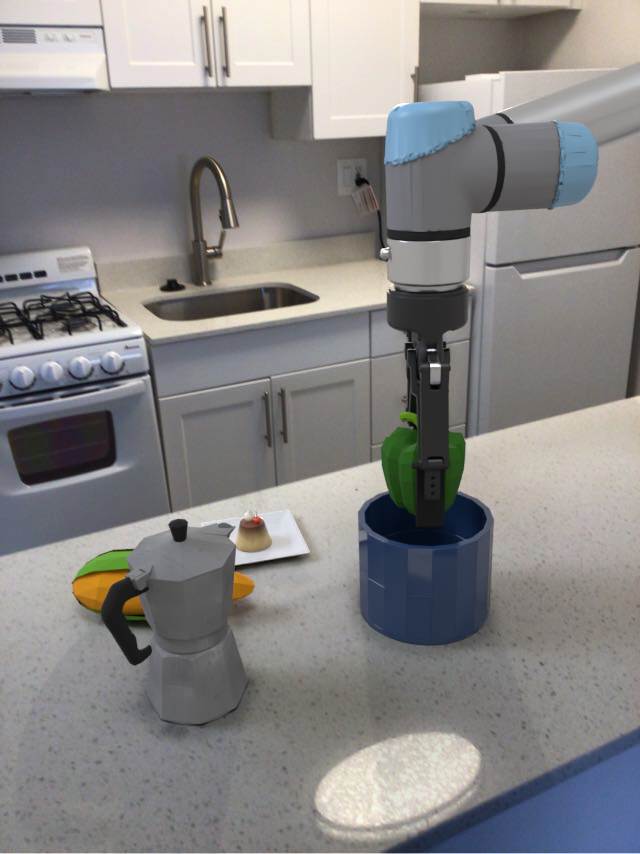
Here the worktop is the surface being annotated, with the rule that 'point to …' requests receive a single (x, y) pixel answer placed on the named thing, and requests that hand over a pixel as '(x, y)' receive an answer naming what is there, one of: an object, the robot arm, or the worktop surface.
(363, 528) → the pot
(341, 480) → the worktop surface
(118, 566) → the corn
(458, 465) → the bell pepper
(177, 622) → the coffeepot
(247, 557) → the dessert
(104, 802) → the worktop surface
